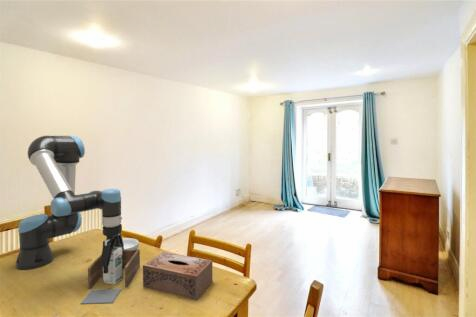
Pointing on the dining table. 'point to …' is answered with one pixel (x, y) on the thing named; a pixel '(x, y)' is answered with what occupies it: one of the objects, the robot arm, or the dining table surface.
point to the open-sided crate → (129, 263)
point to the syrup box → (116, 266)
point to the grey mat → (101, 296)
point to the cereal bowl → (130, 243)
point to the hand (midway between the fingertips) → (113, 271)
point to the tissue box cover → (178, 275)
